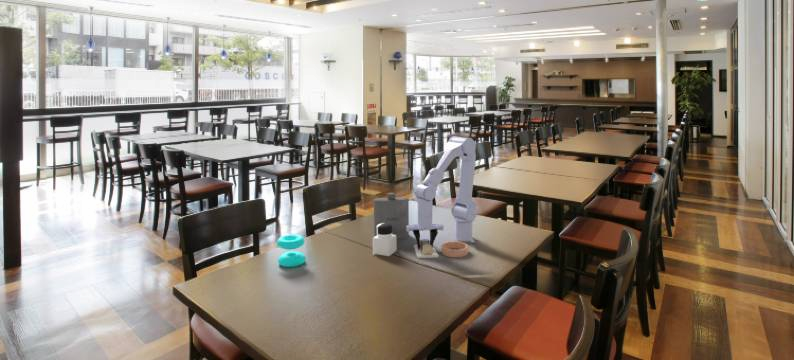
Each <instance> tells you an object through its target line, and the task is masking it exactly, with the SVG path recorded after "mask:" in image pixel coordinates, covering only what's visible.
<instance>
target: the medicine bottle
mask: <svg viewBox="0 0 794 360" xmlns="http://www.w3.org/2000/svg"><path fill="white" fill-rule="evenodd" d="M396 251H397V239H396V235H392V225H391V224H388V223H381V224H378V225H377V236H375V237H374V236H373V237H372V255H373V256H375V255H380V256H386V257H391V256H392V254H394V253H396Z"/></svg>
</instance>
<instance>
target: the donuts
mask: <svg viewBox="0 0 794 360" xmlns="http://www.w3.org/2000/svg"><path fill="white" fill-rule="evenodd" d="M305 241H306V240H305V238H304V237H303V236H302V235H300V234H297V233H296V234H285V235H283V236H280V237H279V238H278V239H277V241H276V245H277V246H278V248H280V249H283V250H289V251H286V252H284V253H282V254H281V255H280V256H278V259H277V261H278V264H279V265H280V266H281V267H285V268H294V267H298V266H301V265H303V264H305V262H306V258H307V257H306V255H305V254H304V253H303V252H300V251H295V250H296V249H299V248H301V247H302V246H304V244H305ZM290 250H294V251H290Z"/></svg>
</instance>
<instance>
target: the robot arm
mask: <svg viewBox="0 0 794 360" xmlns="http://www.w3.org/2000/svg"><path fill="white" fill-rule="evenodd" d="M445 145H446V149H445V151H444V153H443V154H442V156H441V158H440V159H439V161H438V163H437V165H436V167H433V168H431V169H430V170H428V173H427V175H426V177H425V178H424V180H422V182H421V183H420V184H418V185H417V186H416V188H415V191H413V193H414V196H415V198H416V202H417V223H416V224H410V225H407V226H406V230H407V232H412V233H413V236H414V238H415V239H416V245H417V246H418V249H420V240H421V234H420V232H421V231H422V232H423V231H429V241H430V245H432V247H433V244H434V243H435V240H436V238H437V236H438V234H439V233H438V231H444V227H445V226H444V224H442V223H439V224H438V223H433V200H434V199H435V198H436V196H437V195H436V194H437V189H438V187H439V185H440V183H442V181H443V179H444V177H445V175H444V173H445V171H446V169H447V168H448V167H449V166H450V165H451V163H452V161H453V160H454V159H455V158H457V157H459V158H460V159H461V167H460V175H459V177H460V179H459V185H458V186H459V188H458V197H456V198H455V199H454V200H453V205H452V206H451V210H450V211H451V215H452V216H453V219H454V223H453V224H454V226H453V231H454V232H453V235H454V239H455V240H456V241H457V242H463V243H465V242H466V243H467V242H470V243H471V244H475V243H476V242H475V240H474V239H473V238H474V237H473V222H475V219H476V217H477V215H478V214H477V213H478V210H477V202H475V200H474V199H473V198H472V196H473V189H474V179H475V169H476V159H477V155H476V147H477V143H476V141H475V140H474V139H473V138H471V137H463V136H462V137H461V136H456V135H453V136H451V137H450V138H449V140H448V142H446V143H445Z"/></svg>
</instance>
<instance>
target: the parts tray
mask: <svg viewBox="0 0 794 360" xmlns="http://www.w3.org/2000/svg"><path fill="white" fill-rule="evenodd" d="M413 248H414V251H415V255H416V257H417V259H429V258H430V259H432V258H439V257H440V255H439V254H438V252H437V251H436V249H435V244H434V243H433V247H432V255H422V250H420V249H418V246H417V244H414V245H413Z"/></svg>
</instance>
